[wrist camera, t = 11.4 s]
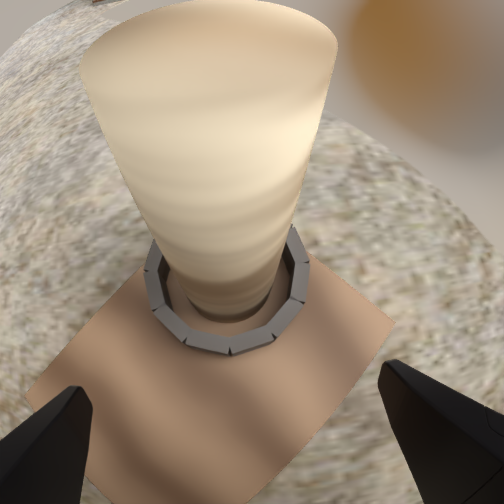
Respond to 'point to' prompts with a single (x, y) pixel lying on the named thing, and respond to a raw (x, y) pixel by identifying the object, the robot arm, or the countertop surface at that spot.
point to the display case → (103, 2)
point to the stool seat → (212, 381)
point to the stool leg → (214, 135)
